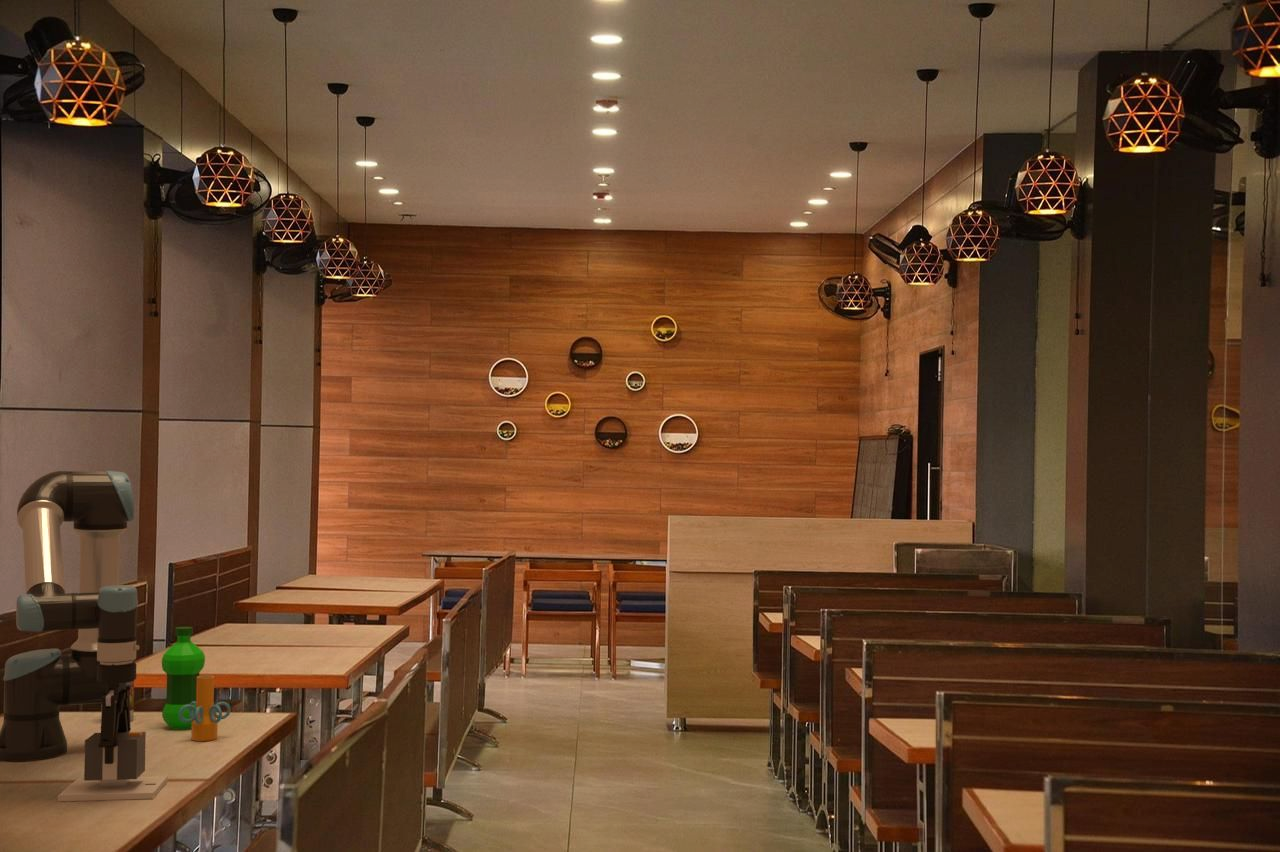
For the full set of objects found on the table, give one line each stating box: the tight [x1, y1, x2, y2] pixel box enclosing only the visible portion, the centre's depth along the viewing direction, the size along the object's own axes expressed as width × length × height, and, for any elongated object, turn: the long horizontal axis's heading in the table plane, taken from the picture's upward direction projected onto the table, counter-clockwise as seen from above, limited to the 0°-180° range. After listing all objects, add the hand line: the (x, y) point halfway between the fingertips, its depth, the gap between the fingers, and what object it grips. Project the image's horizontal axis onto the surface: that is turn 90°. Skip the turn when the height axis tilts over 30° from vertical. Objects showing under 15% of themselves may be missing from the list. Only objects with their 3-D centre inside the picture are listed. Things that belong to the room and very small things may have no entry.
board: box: [57, 775, 169, 802], centre depth 273 cm, size 18×14×7 cm
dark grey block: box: [83, 731, 147, 781], centre depth 273 cm, size 10×8×9 cm
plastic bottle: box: [161, 626, 206, 730], centre depth 337 cm, size 10×10×25 cm
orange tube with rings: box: [179, 675, 231, 742], centre depth 324 cm, size 12×10×15 cm
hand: (115, 774), depth 273 cm, fingers closed on dark grey block, 8 cm apart
